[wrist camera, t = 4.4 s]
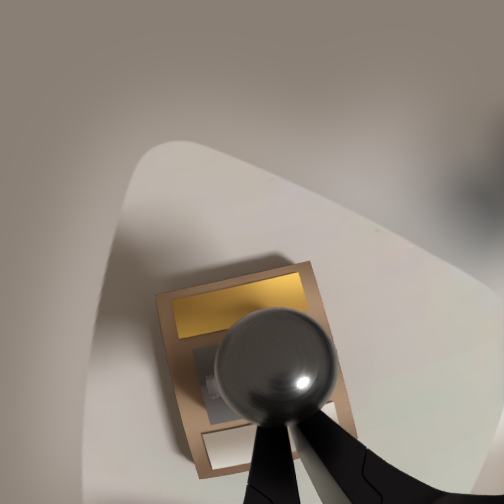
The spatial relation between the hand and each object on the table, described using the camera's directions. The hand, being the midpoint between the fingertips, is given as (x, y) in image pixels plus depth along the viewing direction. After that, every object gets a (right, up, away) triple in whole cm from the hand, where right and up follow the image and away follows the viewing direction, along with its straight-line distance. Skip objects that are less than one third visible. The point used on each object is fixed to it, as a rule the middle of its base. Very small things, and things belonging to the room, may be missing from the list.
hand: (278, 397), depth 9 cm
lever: (0, -1, +5) cm, 5 cm away
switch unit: (-1, -3, +10) cm, 11 cm away
